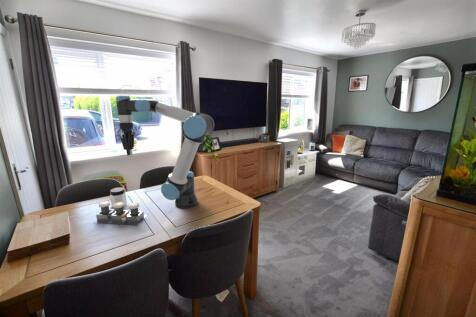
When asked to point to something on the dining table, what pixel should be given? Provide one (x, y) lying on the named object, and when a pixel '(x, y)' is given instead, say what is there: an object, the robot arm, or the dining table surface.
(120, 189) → the jar
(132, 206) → the knob
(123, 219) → the trim pot
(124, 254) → the dining table surface
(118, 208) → the knob mid
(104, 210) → the knob
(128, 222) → the console
